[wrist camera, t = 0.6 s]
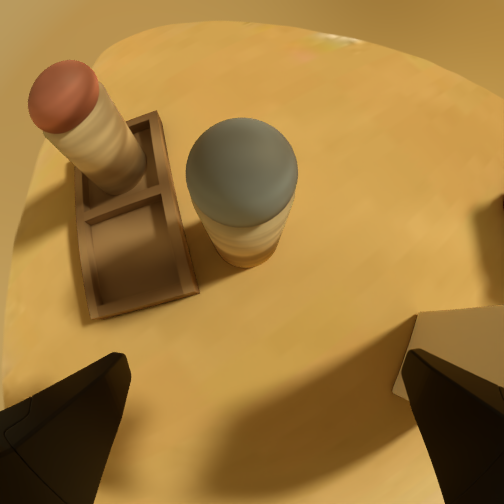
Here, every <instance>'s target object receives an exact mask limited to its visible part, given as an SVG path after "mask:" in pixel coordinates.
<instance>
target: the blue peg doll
mask: <svg viewBox="0 0 504 504" xmlns="http://www.w3.org/2000/svg"><path fill="white" fill-rule="evenodd" d="M297 179H298V167H297V161H296V157H295V154H294V152H293V149H292V147H291V145H290V144H289V142H288V141H287V140H286V138H285V137H284V136H283V135H282V134H281V133H280V132H279V131H278V130H277V129H275V128H274V127H272V126H270V125H269V124H267V123H265V122H262V121H259V120H256V119H251V118H233V119H228V120H225V121H222V122H219V123H217V124H215V125H213V126H212V127H210V128H209V129H208V130H206V131H205V132H204V133H203V134H202V135H201V136H200V137H199V138H198V139H197V141H196V142H195V144H194V145H193V147H192V149H191V151H190V153H189V156H188V160H187V164H186V182H187V187H188V190H189V193H190V195H191V199H192V203H193V206H194V208H195V210H196V212H197V214H198V216H199V218H200V220H201V222H202V224H203V225H204V227H205V229H206V231H207V233H208V235H209V237H210V239H211V240H212V242H213V244H214V246H215V248H216V250H217V252H218V253H219V255H220V256H221V257H222V258H223V259H224V260H225V261H226V262H228V263H230V264H231V265H234V266H237V267H242V268H250V267H255V266H258V265H260V264H262V263H264V262H265V261H267V260H268V259H269V258H270V257H271V256H272V254H273V253H274V251H275V250H276V247H277V244H278V242H279V239H280V236H281V234H282V231H283V228H284V226H285V223H286V220H287V218H288V215H289V212H290V209H291V207H292V204H293V201H294V197H295V189H296V184H297Z"/></svg>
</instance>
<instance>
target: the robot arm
mask: <svg viewBox="0 0 504 504" xmlns="http://www.w3.org/2000/svg"><path fill="white" fill-rule="evenodd" d="M401 375H402V379H403V382H404V385H405V389H406V392H407V395H408V399H409V402H410V406H411V409H412V412H413V415H414V417H415V420H416V422H417V425H418V427H419V430H420V432H421V435H422V437H423V440H424V443H425V445H426V448H427V451H428V453H429V456H430V459H431V462H432V465H433V468H434V471H435V473H436V476H437V479H438V483H439V486H440V489H441V492H442V495H443V498H444V502H445V504H504V388H503V387H501V386H498V385H497V384H494V383H492V382H490V381H488V380H486V379H484V378H482V377H479V376H477V375H475V374H473V373H471V372H469V371H467V370H465V369H462V368H460V367H458V366H456V365H454V364H452V363H450V362H448V361H446V360H444V359H441V358H439V357H437V356H435V355H433V354H431V353H429V352H427V351H425V350H423V349H421V348H416V349H410V350H409V351H408V352H407V354H406V357H405V360H404V363H403V366H402V369H401ZM130 382H131V372H130V368H129V365H128V361H127V358H126V356H125V354H123V353H116V352H112V353H110V354H108V355H107V356H105V357H103V358H101V359H99V360H98V361H96V362H94V363H92V364H90V365H89V366H87V367H85V368H83V369H81V370H79V371H78V372H76V373H74V374H72V375H70V376H68V377H67V378H65V379H63V380H61V381H59V382H57V383H55V384H54V385H52V386H50V387H48V388H46V389H44V390H42V391H41V392H39V393H37V394H35V395H33V396H32V397H29V398H27V399H25V400H24V401H22V402H20V403H18V404H16V405H14V406H12V407H9V408H7V409H5V410H2V411H0V504H94V500H95V497H96V493H97V490H98V487H99V484H100V480H101V477H102V474H103V471H104V468H105V465H106V462H107V459H108V456H109V453H110V450H111V447H112V444H113V441H114V438H115V436H116V433H117V430H118V427H119V424H120V421H121V418H122V415H123V411H124V407H125V402H126V398H127V394H128V390H129V386H130Z"/></svg>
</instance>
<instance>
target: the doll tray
mask: <svg viewBox="0 0 504 504" xmlns="http://www.w3.org/2000/svg"><path fill="white" fill-rule="evenodd" d="M126 124H127V126H128V127H129V129H130V131H131V132H132V134H133V136H134V137H135V139H136V140H137V142H138V144H139V145H140V147H141V149H142V150H143V152H144V153H145V155H146V159H147V167H146V171H145V174H144V176H143V177H142V179H141V180H140V182H139V183H138V184H137V185H136V186H135V187H134V188H133V189H131V190H130V191H128V192H126V193H123V194H120V195H109V194H106V193H105V192H103V191H102V190H101V189H100V188H99V187H98V186H97V185H96V184H94V183H93V182H92V181H91V180H90V179H89V178H88V177H87V176H86V175H85V174H84V173H82V172H81V171H80V170H79V169H78V168H77V167H76V166H75V205H76V221H77V233H78V244H79V253H80V261H81V268H82V275H83V281H84V287H85V293H86V298H87V304H88V309H89V314H90V318H91V319H106V318H110V317H114V316H117V315H121V314H125V313H129V312H133V311H137V310H140V309H144V308H148V307H152V306H155V305H159V304H163V303H166V302H170V301H174V300H177V299H181V298H184V297H188V296H192V295H195V294H199V293H200V292H199V288H198V284H197V281H196V277H195V273H194V269H193V265H192V261H191V257H190V253H189V249H188V245H187V241H186V237H185V233H184V229H183V224H182V220H181V216H180V211H179V207H178V202H177V198H176V193H175V188H174V183H173V179H172V174H171V169H170V164H169V158H168V153H167V148H166V142H165V137H164V131H163V126H162V122H161V119H160V117H159V115H158V112H157V110H156V111H153V112H150V113H148V114H145V115H142V116H139V117H137V118H134V119H131V120H129V121H126Z"/></svg>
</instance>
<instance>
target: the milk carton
mask: <svg viewBox="0 0 504 504" xmlns="http://www.w3.org/2000/svg"><path fill="white" fill-rule="evenodd" d="M416 348H421V349H423V350H425V351H427V352H429V353H431V354H433V355H435V356H437V357H439V358H441V359H444V360H446V361H448V362H450V363H452V364H454V365H456V366H458V367H460V368H462V369H465V370H467V371H469V372H471V373H473V374H475V375H477V376H479V377H482V378H484V379H486V380H488V381H490V382H492V383H494V384H497V385H498V386H501V387H503V388H504V305H496V306H487V307H477V308H467V309H455V310H442V311H427V312H419V313H418V316H417V319H416V323H415V326H414V329H413V333H412V336H411V339H410V342H409V345H408V348H407V351H406V354H407V352H408V351H409V350H410V349H416ZM406 354H405V357H406ZM405 357H404V360H405ZM404 360H403V363H404ZM403 363H402V366H403ZM402 366H401V368H400V371H399V374H398V376H397V379H396V382H395V384H394V387H393V390H392V393H394V394H396V395H398V396H400V397H402V398H404V399H406V400H408V401H409V399H408V395H407V392H406V389H405V385H404V382H403V379H402V375H401V369H402Z"/></svg>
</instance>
